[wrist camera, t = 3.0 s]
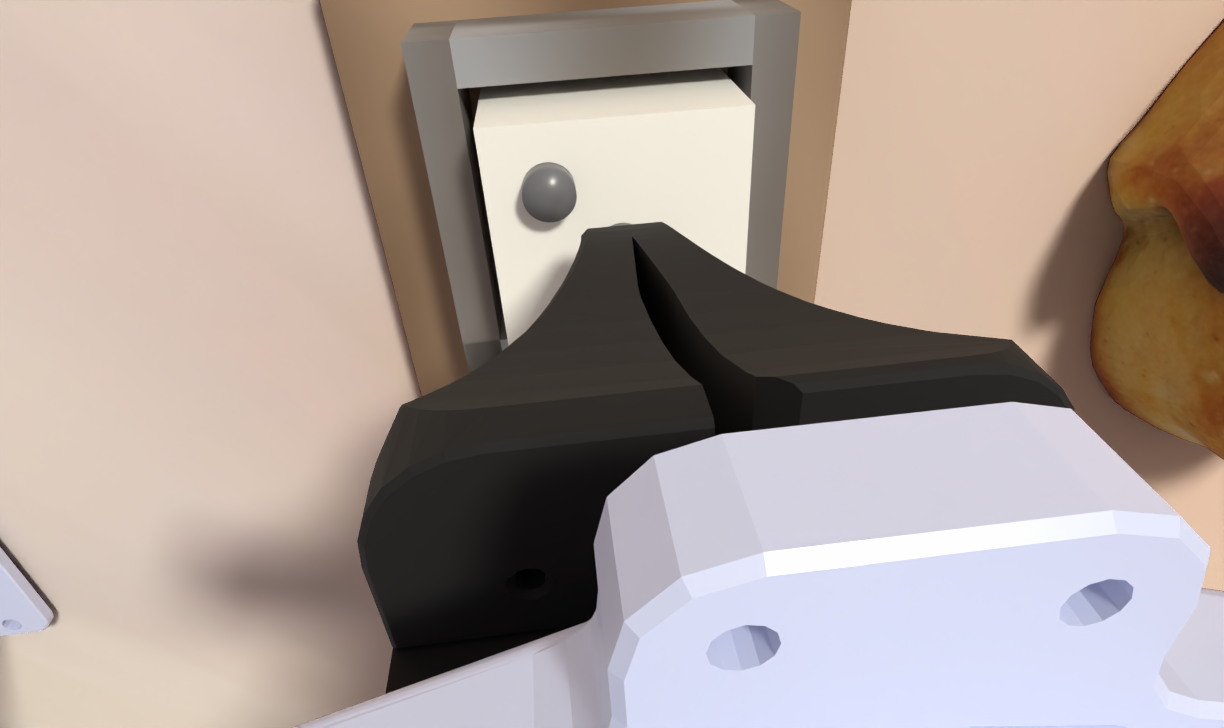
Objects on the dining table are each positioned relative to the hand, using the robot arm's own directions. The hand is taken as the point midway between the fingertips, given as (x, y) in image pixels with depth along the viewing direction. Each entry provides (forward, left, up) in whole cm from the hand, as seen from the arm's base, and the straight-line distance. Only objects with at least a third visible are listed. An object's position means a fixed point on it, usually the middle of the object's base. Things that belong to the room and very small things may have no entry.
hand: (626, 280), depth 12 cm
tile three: (0, 0, -4) cm, 4 cm away
